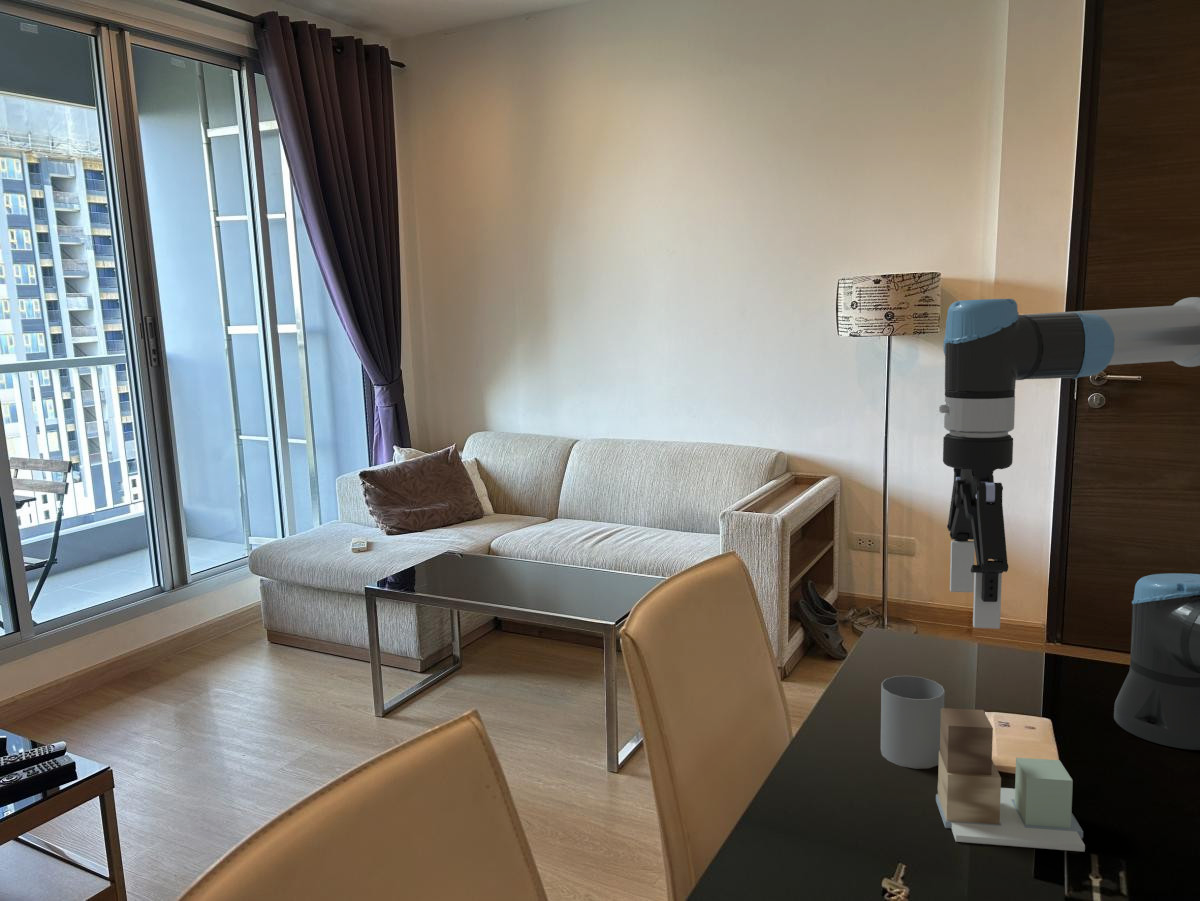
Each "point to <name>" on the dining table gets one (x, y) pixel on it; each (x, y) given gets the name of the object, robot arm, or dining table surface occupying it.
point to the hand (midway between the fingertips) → (973, 608)
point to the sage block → (1043, 792)
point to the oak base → (969, 795)
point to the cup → (911, 721)
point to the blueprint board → (1016, 829)
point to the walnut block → (966, 741)
